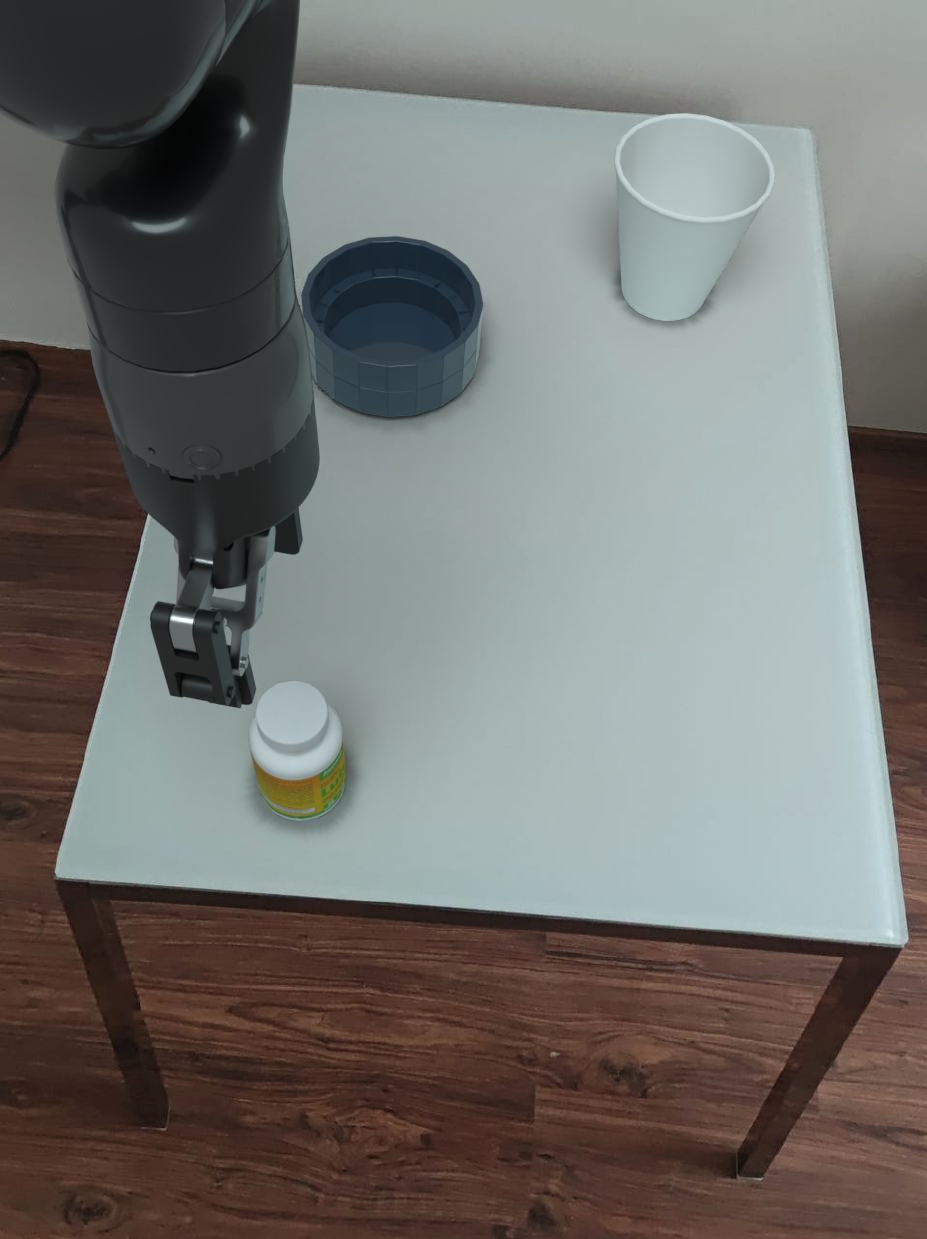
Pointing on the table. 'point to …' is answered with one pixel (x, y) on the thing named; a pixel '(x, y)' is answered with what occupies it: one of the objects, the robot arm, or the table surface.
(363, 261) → the bowl
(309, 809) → the supplement bottle
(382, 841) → the table surface
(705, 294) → the cup
